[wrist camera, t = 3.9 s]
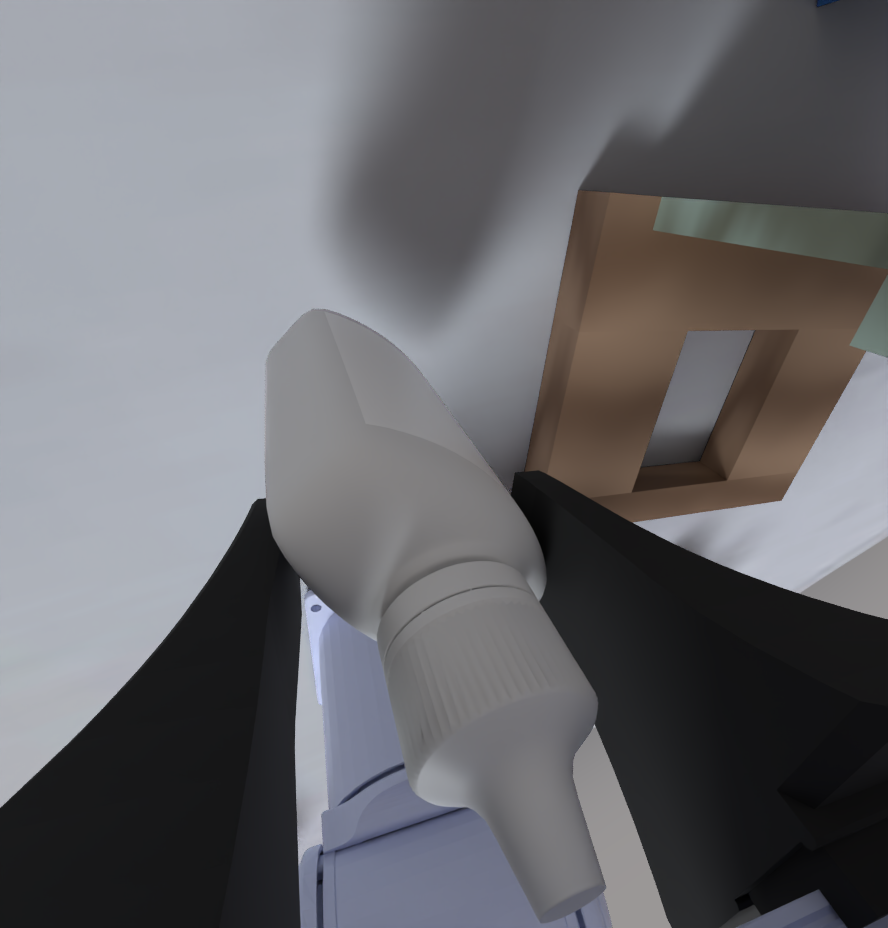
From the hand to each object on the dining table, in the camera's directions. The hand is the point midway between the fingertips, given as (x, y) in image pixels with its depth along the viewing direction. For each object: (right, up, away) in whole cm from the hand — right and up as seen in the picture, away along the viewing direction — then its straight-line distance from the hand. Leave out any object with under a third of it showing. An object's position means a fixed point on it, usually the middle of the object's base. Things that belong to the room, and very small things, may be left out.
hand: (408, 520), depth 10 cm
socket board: (+13, +6, +12) cm, 18 cm away
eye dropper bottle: (-2, +4, +4) cm, 5 cm away
